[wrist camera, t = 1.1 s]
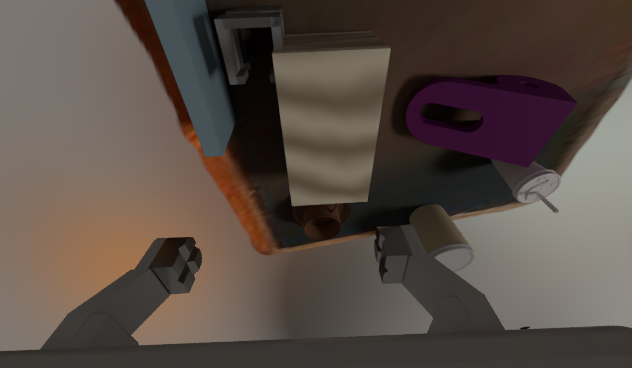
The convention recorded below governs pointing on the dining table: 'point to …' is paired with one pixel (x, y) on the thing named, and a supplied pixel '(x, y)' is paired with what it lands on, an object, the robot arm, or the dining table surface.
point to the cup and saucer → (321, 219)
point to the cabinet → (317, 101)
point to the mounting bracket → (493, 116)
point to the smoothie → (529, 181)
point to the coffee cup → (441, 237)
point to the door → (196, 69)
